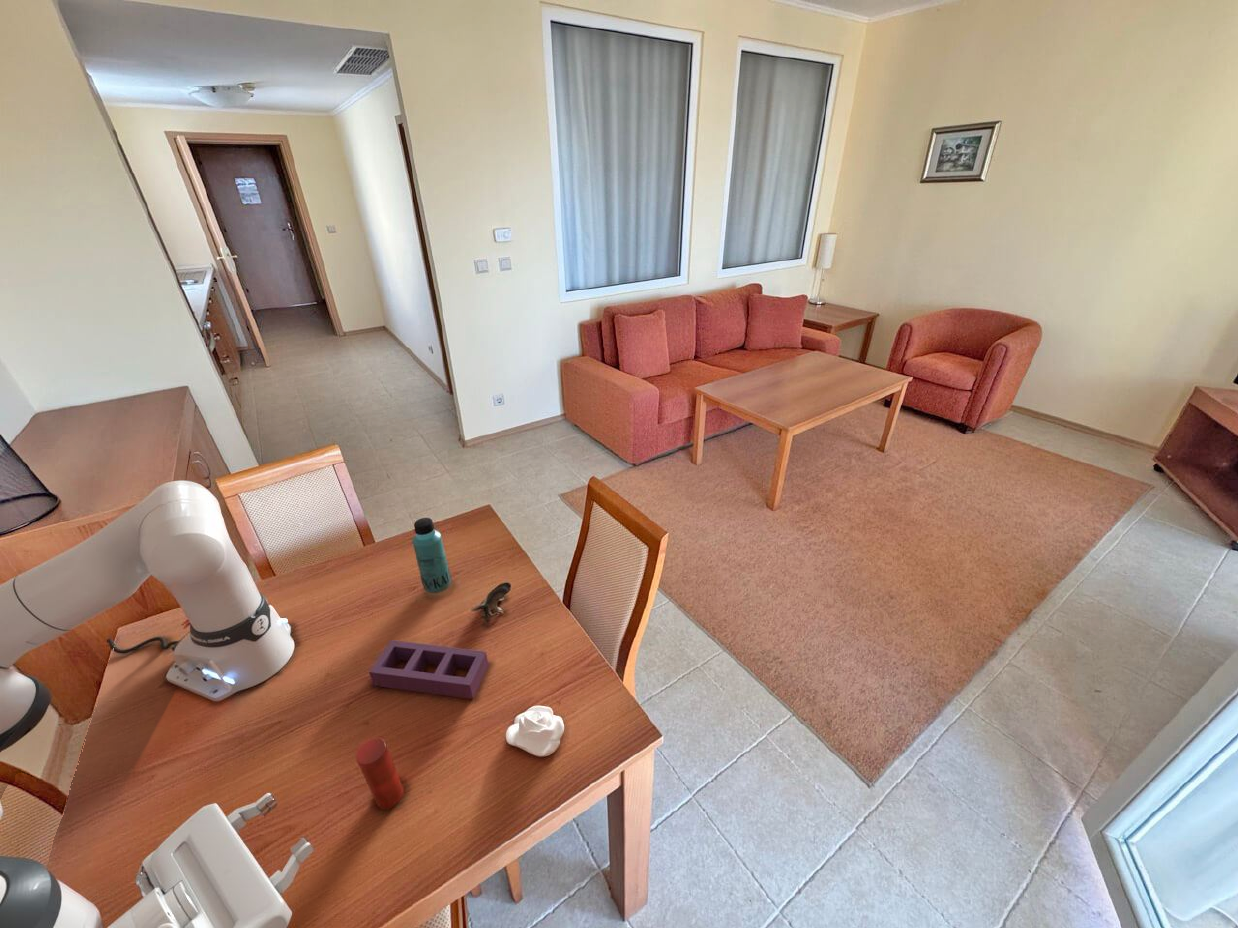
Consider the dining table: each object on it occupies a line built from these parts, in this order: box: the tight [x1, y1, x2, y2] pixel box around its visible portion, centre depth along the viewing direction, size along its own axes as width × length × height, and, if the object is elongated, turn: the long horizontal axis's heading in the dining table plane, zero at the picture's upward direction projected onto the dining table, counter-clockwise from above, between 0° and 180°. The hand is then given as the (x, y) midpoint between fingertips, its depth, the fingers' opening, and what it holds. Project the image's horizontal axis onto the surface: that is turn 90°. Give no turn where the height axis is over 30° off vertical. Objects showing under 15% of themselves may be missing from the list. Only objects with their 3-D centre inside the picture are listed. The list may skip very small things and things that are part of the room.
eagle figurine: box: [470, 581, 512, 626], centre depth 112 cm, size 8×7×9 cm
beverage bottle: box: [411, 517, 452, 594], centre depth 115 cm, size 6×7×20 cm
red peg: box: [355, 737, 404, 810], centre depth 76 cm, size 4×4×12 cm
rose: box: [505, 705, 565, 757], centre depth 86 cm, size 10×4×10 cm
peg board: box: [368, 639, 489, 700], centre depth 97 cm, size 20×8×4 cm, turn 81°
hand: (291, 819), depth 65 cm, fingers open, 8 cm apart
